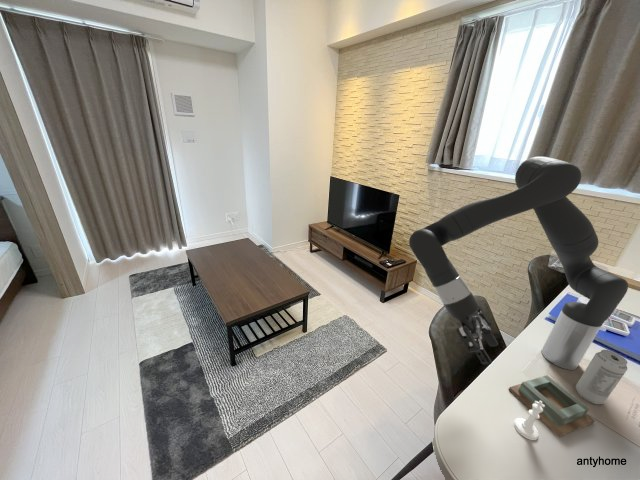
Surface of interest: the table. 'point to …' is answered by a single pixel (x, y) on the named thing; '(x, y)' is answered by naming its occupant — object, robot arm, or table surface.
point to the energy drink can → (601, 376)
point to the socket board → (554, 404)
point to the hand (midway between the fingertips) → (491, 354)
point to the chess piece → (529, 422)
